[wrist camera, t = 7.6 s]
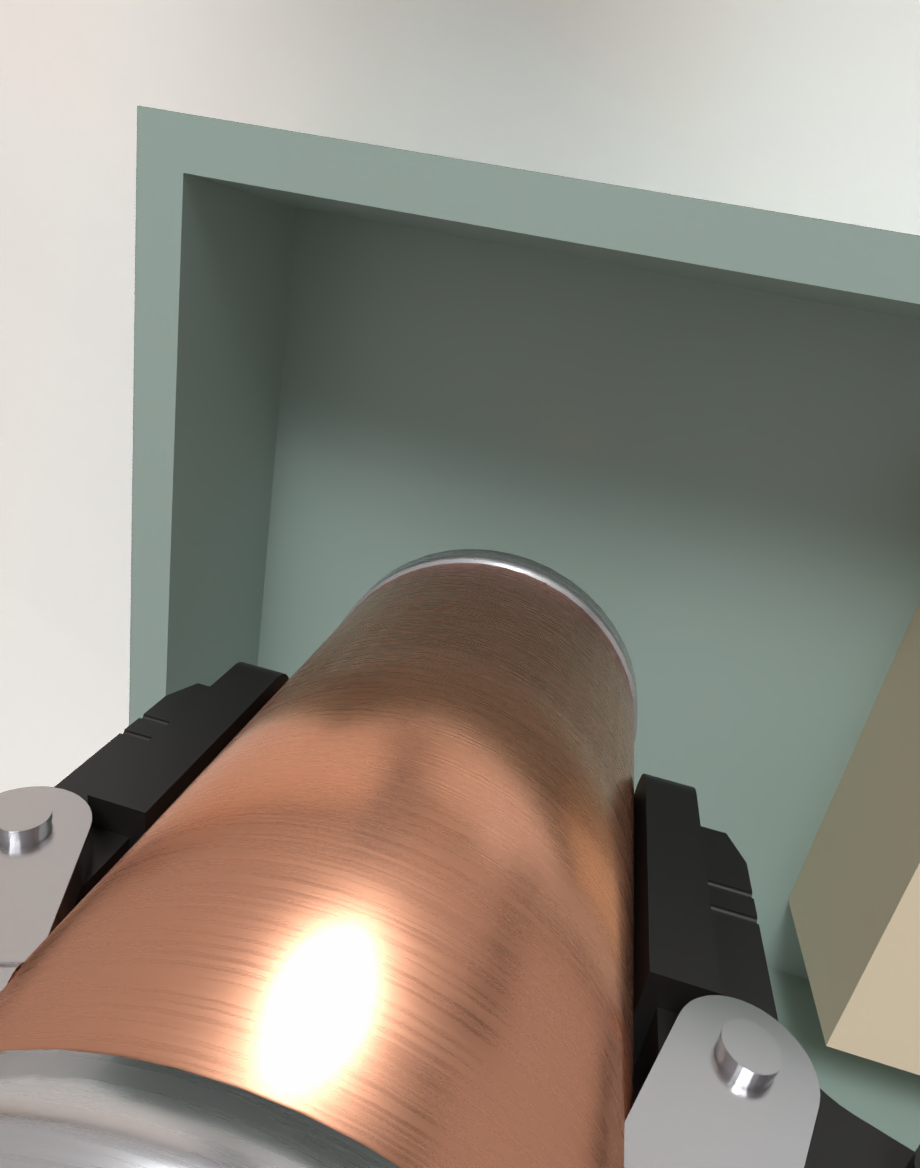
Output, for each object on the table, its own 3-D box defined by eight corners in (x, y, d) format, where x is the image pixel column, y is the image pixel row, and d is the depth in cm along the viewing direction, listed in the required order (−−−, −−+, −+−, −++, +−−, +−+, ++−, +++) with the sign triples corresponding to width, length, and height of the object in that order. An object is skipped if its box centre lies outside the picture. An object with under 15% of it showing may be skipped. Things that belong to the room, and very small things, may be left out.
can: (676, 593, 12) (801, 1457, 3) (594, 858, 14) (518, 1854, 5) (355, 515, 13) (-330, 1018, 4) (321, 778, 15) (-177, 1519, 6)
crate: (1600, 393, 13) (2145, 440, 8) (1107, 1072, 19) (1257, 1315, 14) (279, 164, 16) (137, 105, 11) (231, 807, 22) (126, 935, 18)
